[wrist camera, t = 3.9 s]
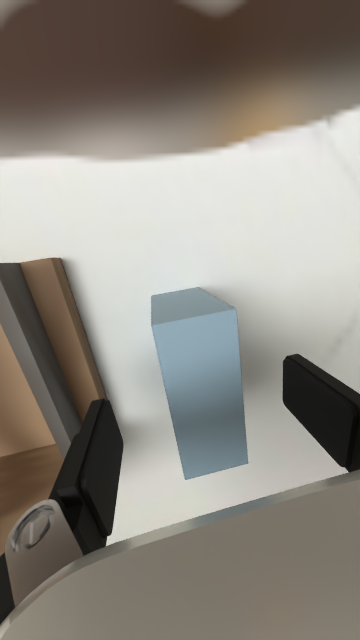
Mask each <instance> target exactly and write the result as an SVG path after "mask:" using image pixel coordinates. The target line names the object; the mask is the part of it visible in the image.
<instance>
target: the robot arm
mask: <svg viewBox="0 0 360 640" xmlns="http://www.w3.org/2000/svg"><path fill="white" fill-rule="evenodd" d="M283 403H284V405H285V406H286V407H287V409H288V410H289V411H290V412H291V413H292V414H293V415H294V416H295V417H296V418H297V419H298V421H299V422H300V423H301V424H302V425H303V426H304V427H305V428H306V429H307V430H308V432H309V433H310V434H311V435H312V436H313V437H314V438H315V439H316V440H317V441H318V443H319V444H320V445H321V446H322V447H323V448H324V449H325V450H326V451H327V452H328V454H329V455H330V456H331V457H332V458H333V459H334V460H335V461H336V462H337V463H338V464H339V465H340V466H341V467H345V468H346V469H347V471H348V472H349V473H346V474H342V475H339V476H335V477H332V478H328V479H325V480H321V481H318V482H314V483H311V484H307V485H304V486H301V487H297V488H294V489H290V490H287V491H283V492H280V493H277V494H273V495H270V496H266V497H263V498H260V499H256V500H253V501H249V502H246V503H243V504H239V505H236V506H233V507H229V508H226V509H222V510H219V511H216V512H213V513H209V514H206V515H203V516H199V517H196V518H193V519H189V520H186V521H183V522H179V523H176V524H173V525H169V526H166V527H163V528H160V529H156V530H153V531H150V532H147V533H144V534H141V535H138V536H135V537H132V538H129V539H126V540H123V541H119V542H116V543H114V544H111V545H109V546H106V541H107V536H110V535H111V533H112V528H113V521H114V513H115V506H116V498H117V491H118V483H119V476H120V468H121V460H122V453H123V439H122V436H121V433H120V430H119V428H118V425H117V422H116V419H115V416H114V413H113V410H112V407H111V404H110V401H109V400H105V398H102V399H97V400H93V401H92V402H91V404H90V406H89V409H88V411H87V414H86V416H85V419H84V421H83V424H82V426H81V429H80V432H79V433H77V434H76V435H75V436H74V438H73V440H72V442H71V445H70V447H69V450H68V452H67V454H66V457H65V459H64V462H63V464H62V466H61V469H60V471H59V474H58V476H57V479H56V481H55V483H54V486H53V488H52V491H51V493H50V495H49V498H48V500H43V501H41V502H39V503H37V504H35V505H34V506H33V507H31V508H30V509H28V510H27V511H26V512H25V513H24V514H23V515H22V516H21V517H20V518H19V520H18V521H17V522H16V524H15V525H14V526H13V528H12V530H11V532H10V533H9V535H8V538H7V541H6V544H5V552H4V553H3V554H2V555H1V556H0V640H360V394H359V393H357V392H356V391H354V390H353V389H351V388H350V387H348V386H347V385H345V384H344V383H342V382H341V381H339V380H338V379H336V378H334V377H333V376H331V375H330V374H328V373H327V372H325V371H324V370H322V369H321V368H319V367H318V366H316V365H315V364H313V363H312V362H310V361H308V360H307V359H305V358H304V357H302V356H301V355H299V354H294V355H290V356H287V357H286V358H285V360H284V361H283Z"/></svg>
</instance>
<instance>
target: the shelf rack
mask: <svg viewBox="0 0 360 640" xmlns="http://www.w3.org/2000/svg"><path fill="white" fill-rule="evenodd" d="M102 398H105V400H107V398H106V395H105V392H104V389H103V386H102V383H101V380H100V377H99V374H98V371H97V368H96V365H95V362H94V359H93V356H92V353H91V350H90V347H89V344H88V341H87V338H86V334H85V331H84V328H83V325H82V322H81V319H80V316H79V313H78V310H77V307H76V304H75V301H74V298H73V295H72V292H71V289H70V286H69V283H68V280H67V277H66V274H65V271H64V268H63V265H62V262H61V259H60V258H46V259H40V260H34V261H28V262H22V263H0V556H1V555H2V554H3V553H4V552H5V544H6V541H7V538H8V535H9V533H10V532H11V530H12V528H13V526H14V525H15V524H16V522H17V521H18V520H19V518H20V517H21V516H22V515H23V514H24V513H25V512H26V511H27V510H28V509H30V508H31V507H33V506H34V505H35V504H37V503H39V502H41V501H43V500H48V498H49V495H50V493H51V491H52V488H53V486H54V483H55V481H56V479H57V476H58V474H59V471H60V469H61V466H62V464H63V462H64V459H65V457H66V454H67V452H68V450H69V447H70V445H71V442H72V440H73V438H74V436H75V435H76V434H77V433H79V432H80V429H81V426H82V424H83V421H84V419H85V416H86V414H87V411H88V409H89V406H90V404H91V402H92V401H93V400H97V399H102Z"/></svg>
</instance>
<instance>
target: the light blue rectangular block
mask: <svg viewBox="0 0 360 640" xmlns="http://www.w3.org/2000/svg"><path fill="white" fill-rule="evenodd" d="M151 326H152V331H153V336H154V340H155V345H156V349H157V354H158V358H159V363H160V368H161V372H162V377H163V381H164V386H165V390H166V395H167V400H168V404H169V409H170V413H171V418H172V422H173V427H174V432H175V436H176V441H177V445H178V450H179V454H180V459H181V464H182V468H183V473H184V477H185V480H187V479H191V478H195V477H199V476H202V475H206V474H210V473H214V472H217V471H221V470H225V469H229V468H233V467H236V466H240V465H244V464H248V455H247V442H246V429H245V416H244V404H243V391H242V378H241V365H240V352H239V339H238V327H237V314H236V309H235V308H234V307H232V306H230V305H229V304H227V303H225V302H223V301H222V300H220V299H218V298H216V297H215V296H213V295H211V294H209V293H208V292H206V291H204V290H202V289H201V288H199V287H196V288H191V289H186V290H180V291H175V292H169V293H164V294H159V295H153V296H151Z"/></svg>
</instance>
